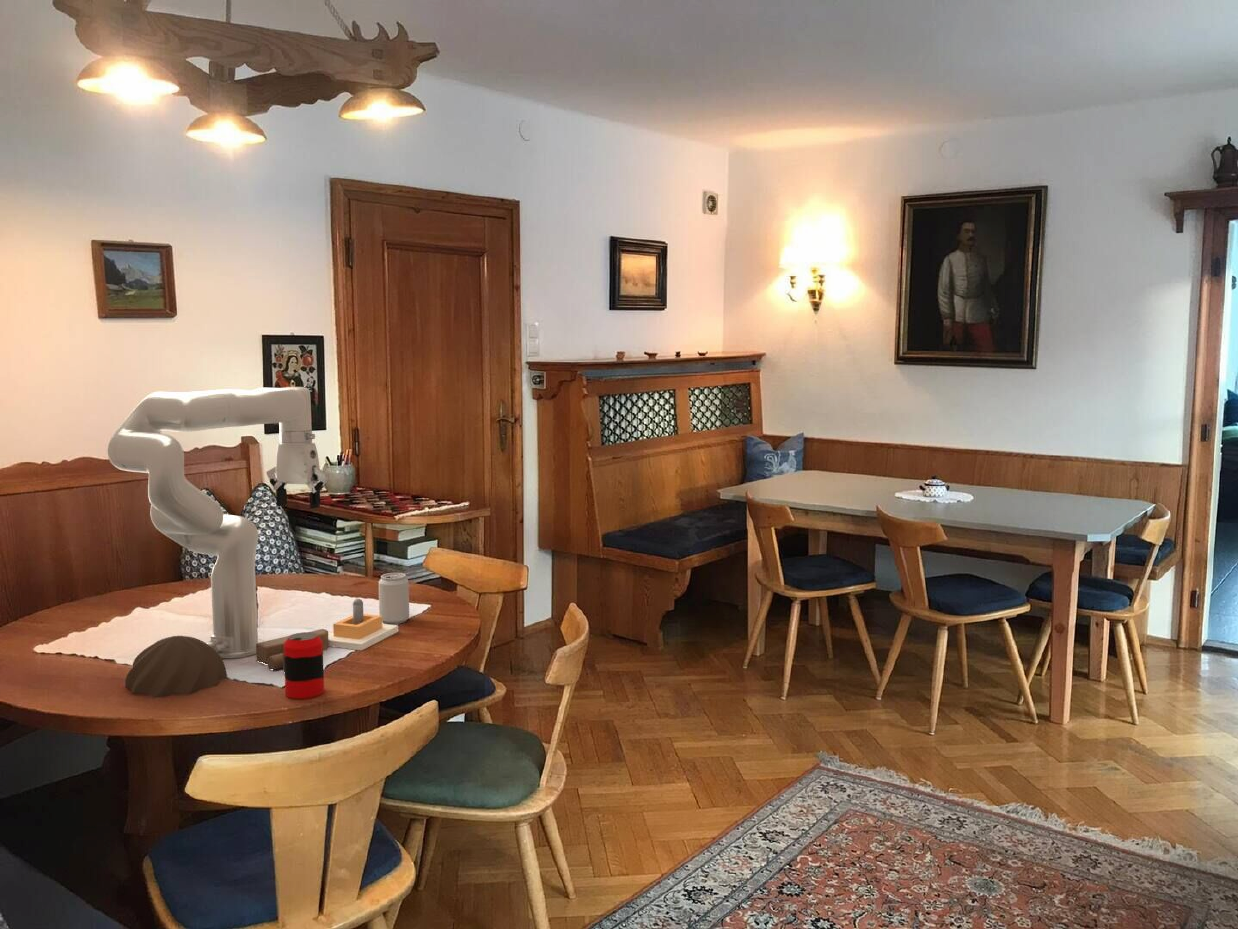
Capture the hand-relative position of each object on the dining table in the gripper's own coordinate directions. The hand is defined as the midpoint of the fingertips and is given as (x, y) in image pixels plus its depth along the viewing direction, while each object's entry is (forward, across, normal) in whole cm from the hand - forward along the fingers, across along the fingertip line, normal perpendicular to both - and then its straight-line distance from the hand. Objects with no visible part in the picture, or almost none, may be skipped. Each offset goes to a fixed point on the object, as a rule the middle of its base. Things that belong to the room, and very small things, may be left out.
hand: (298, 506), depth 252 cm
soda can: (+31, -30, +40) cm, 59 cm away
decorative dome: (+31, 0, +43) cm, 53 cm away
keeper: (+30, -19, +4) cm, 36 cm away
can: (+31, -19, -12) cm, 38 cm away
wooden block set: (+31, -18, +22) cm, 42 cm away
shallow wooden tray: (+29, -19, +4) cm, 35 cm away
